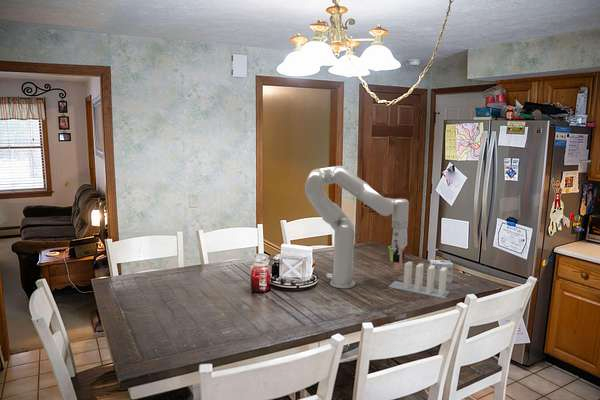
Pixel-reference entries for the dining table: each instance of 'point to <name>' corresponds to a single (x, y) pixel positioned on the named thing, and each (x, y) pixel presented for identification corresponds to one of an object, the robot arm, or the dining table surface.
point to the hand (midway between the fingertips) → (398, 260)
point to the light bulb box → (439, 265)
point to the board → (412, 288)
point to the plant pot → (391, 253)
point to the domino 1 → (399, 265)
